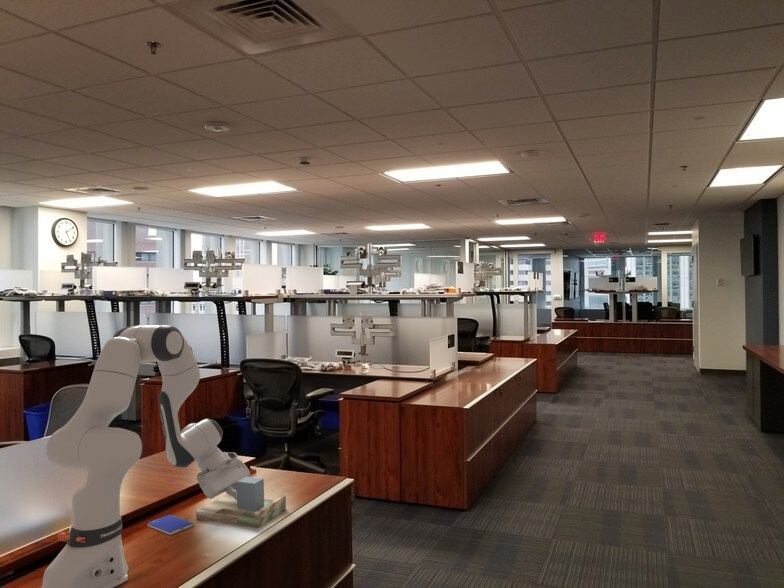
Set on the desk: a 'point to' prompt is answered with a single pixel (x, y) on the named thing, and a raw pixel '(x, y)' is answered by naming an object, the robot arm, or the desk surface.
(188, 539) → the desk surface
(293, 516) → the desk surface
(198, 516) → the box
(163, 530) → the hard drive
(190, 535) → the desk surface
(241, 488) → the slate block
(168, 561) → the desk surface
